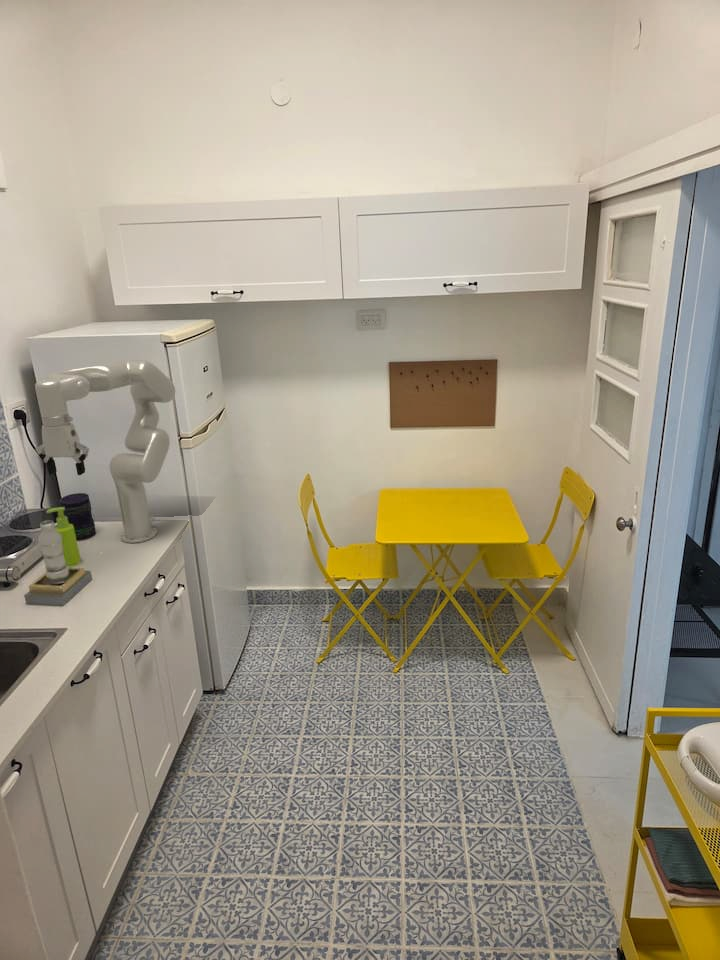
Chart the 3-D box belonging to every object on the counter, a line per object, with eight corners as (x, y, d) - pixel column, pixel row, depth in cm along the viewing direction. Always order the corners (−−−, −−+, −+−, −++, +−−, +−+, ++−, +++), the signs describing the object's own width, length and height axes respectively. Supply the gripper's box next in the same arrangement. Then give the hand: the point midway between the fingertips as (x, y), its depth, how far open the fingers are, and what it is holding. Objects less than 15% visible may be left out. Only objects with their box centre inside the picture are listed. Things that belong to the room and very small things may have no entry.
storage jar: (101, 530, 235) (94, 493, 230) (85, 542, 226) (77, 504, 221) (78, 528, 237) (71, 492, 232) (61, 540, 228) (53, 502, 223)
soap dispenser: (58, 561, 212) (46, 507, 205) (80, 557, 215) (69, 503, 208) (58, 568, 207) (45, 513, 200) (80, 564, 210) (69, 509, 203)
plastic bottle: (61, 588, 189) (49, 528, 182) (42, 586, 190) (29, 526, 183) (75, 578, 195) (63, 519, 188) (57, 576, 196) (44, 517, 189)
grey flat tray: (57, 577, 202) (54, 563, 200) (92, 579, 200) (89, 565, 198) (26, 604, 187) (22, 589, 185) (63, 605, 185) (59, 591, 183)
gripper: (89, 417, 192) (99, 470, 198) (37, 417, 194) (49, 469, 200) (75, 424, 185) (86, 478, 191) (22, 423, 187) (34, 477, 193)
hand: (67, 473), depth 196 cm, fingers open, 9 cm apart
